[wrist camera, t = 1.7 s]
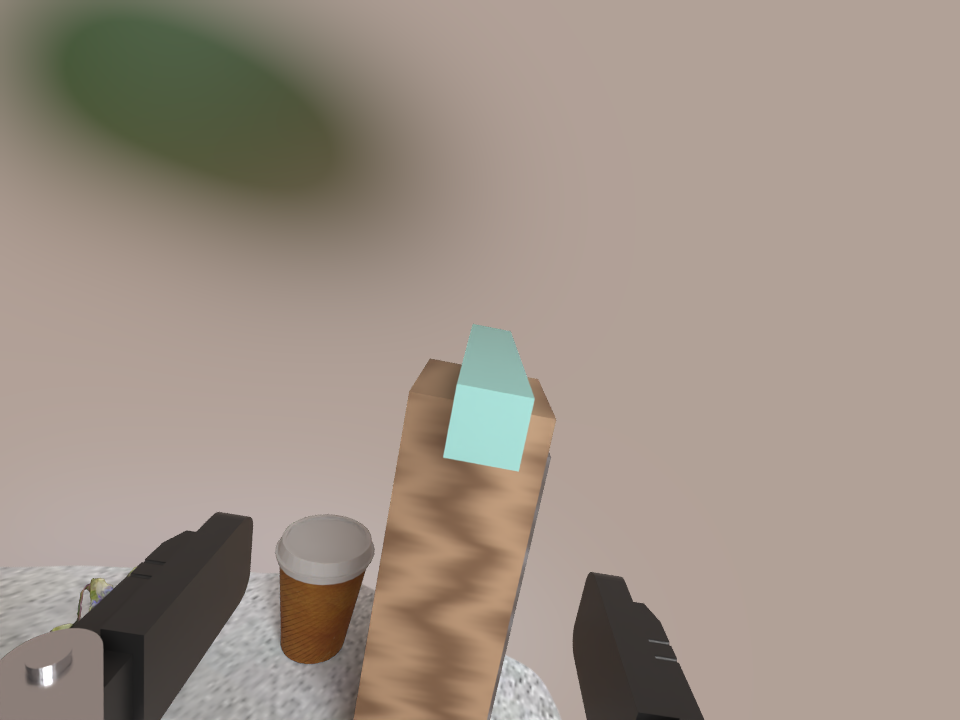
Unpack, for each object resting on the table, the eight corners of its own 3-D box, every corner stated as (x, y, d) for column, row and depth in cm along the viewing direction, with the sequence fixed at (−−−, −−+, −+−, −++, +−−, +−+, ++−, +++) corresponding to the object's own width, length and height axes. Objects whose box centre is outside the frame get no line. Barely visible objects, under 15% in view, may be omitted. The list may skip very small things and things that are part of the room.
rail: (443, 457, 23) (457, 383, 22) (465, 361, 46) (472, 324, 46) (518, 471, 23) (534, 398, 22) (502, 368, 47) (510, 331, 46)
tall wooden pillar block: (343, 778, 39) (409, 391, 33) (378, 656, 51) (430, 357, 45) (473, 801, 39) (562, 420, 33) (476, 673, 51) (541, 379, 45)
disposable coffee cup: (325, 693, 45) (343, 579, 43) (241, 654, 48) (254, 544, 46) (375, 627, 54) (392, 530, 52) (303, 597, 57) (316, 503, 55)
